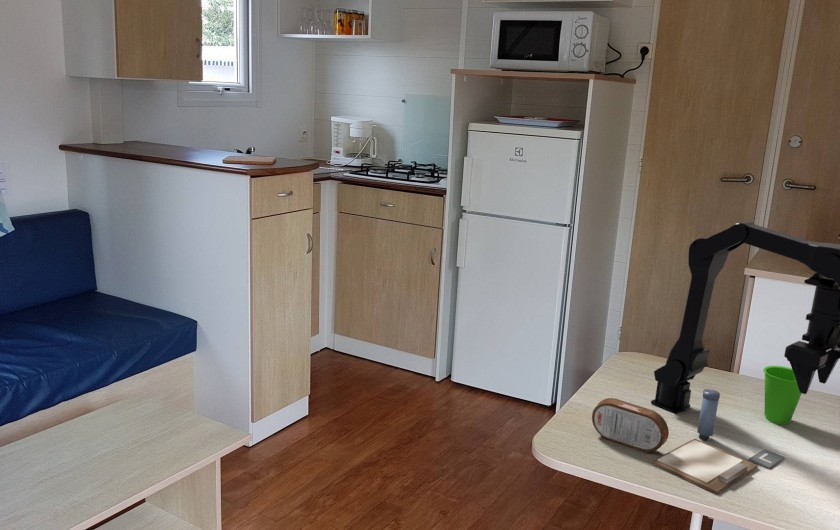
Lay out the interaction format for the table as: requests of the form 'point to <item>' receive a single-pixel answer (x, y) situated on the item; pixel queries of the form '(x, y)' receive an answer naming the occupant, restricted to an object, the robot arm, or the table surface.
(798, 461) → the table surface
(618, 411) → the tin
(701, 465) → the clipboard
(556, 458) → the table surface
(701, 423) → the cylinder
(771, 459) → the letter tile
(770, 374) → the cup
